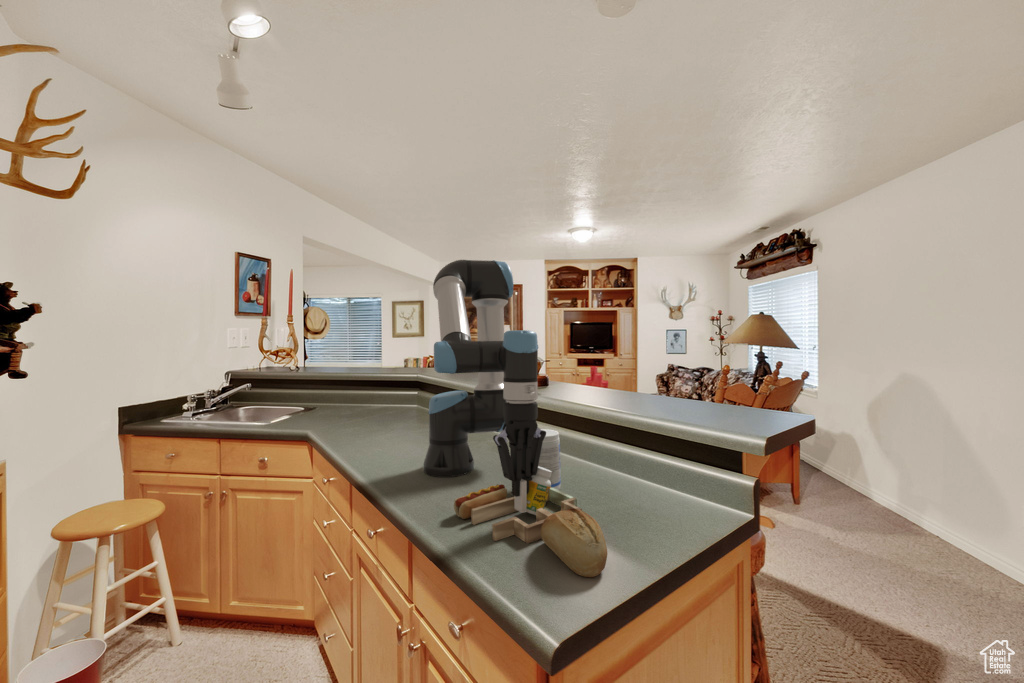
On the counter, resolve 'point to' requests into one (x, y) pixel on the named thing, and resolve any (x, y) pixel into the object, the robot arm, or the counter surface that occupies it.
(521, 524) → the light wood frame
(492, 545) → the counter surface
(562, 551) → the bread roll
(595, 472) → the counter surface
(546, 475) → the supplement bottle
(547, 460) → the supplement tub
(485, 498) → the food
